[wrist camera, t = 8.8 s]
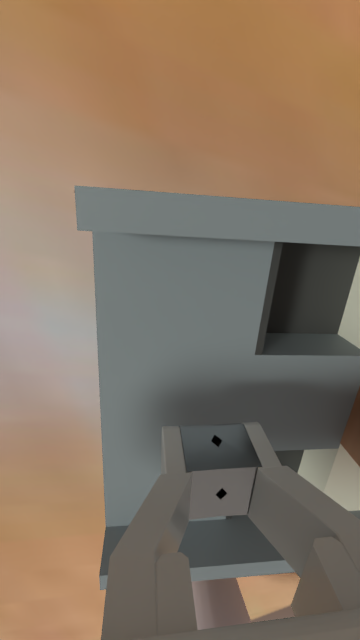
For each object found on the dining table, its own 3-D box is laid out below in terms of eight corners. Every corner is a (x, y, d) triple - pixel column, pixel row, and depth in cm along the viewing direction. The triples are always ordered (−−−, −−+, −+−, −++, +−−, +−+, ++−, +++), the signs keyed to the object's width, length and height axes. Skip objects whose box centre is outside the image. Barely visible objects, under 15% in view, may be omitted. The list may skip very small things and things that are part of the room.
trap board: (102, 194, 11) (74, 185, 7) (469, 221, 13) (625, 226, 9) (112, 493, 17) (100, 589, 12) (363, 480, 18) (426, 560, 14)
